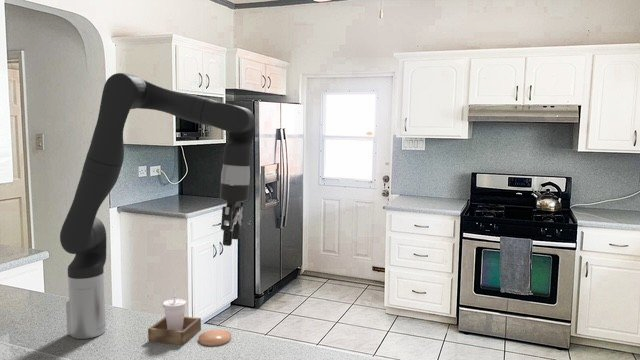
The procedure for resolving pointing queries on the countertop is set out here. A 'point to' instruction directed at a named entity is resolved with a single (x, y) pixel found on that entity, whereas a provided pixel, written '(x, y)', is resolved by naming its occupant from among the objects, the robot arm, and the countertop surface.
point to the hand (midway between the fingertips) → (231, 242)
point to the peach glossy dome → (215, 337)
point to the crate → (174, 331)
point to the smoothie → (174, 313)
